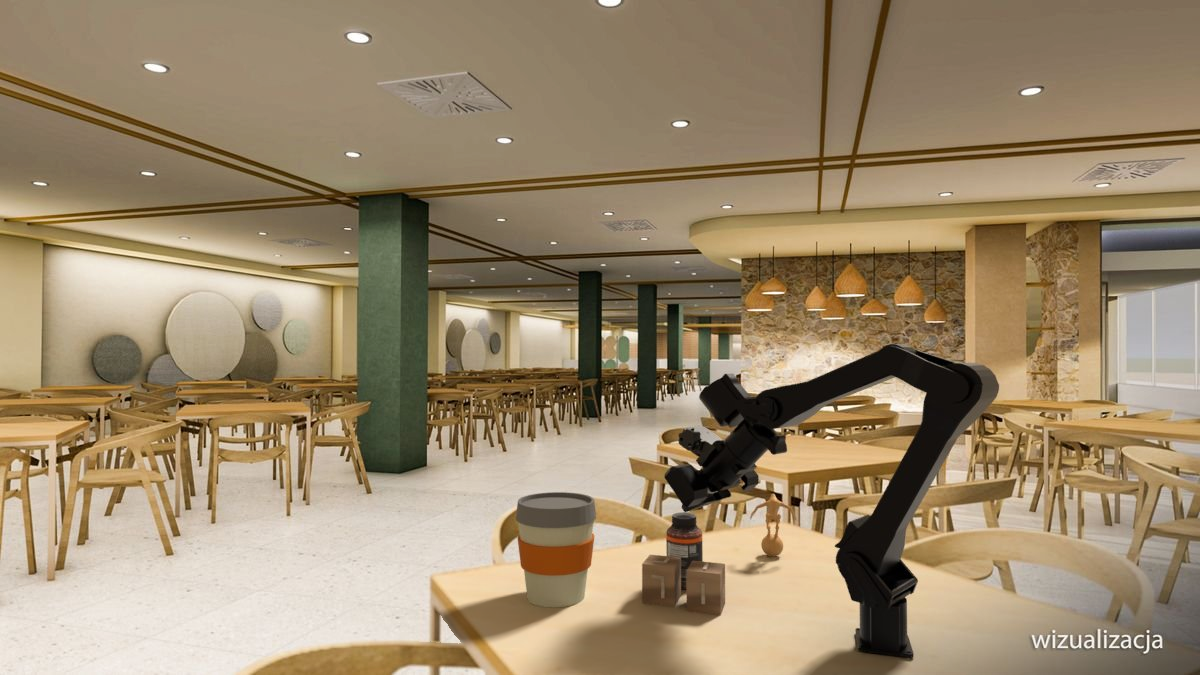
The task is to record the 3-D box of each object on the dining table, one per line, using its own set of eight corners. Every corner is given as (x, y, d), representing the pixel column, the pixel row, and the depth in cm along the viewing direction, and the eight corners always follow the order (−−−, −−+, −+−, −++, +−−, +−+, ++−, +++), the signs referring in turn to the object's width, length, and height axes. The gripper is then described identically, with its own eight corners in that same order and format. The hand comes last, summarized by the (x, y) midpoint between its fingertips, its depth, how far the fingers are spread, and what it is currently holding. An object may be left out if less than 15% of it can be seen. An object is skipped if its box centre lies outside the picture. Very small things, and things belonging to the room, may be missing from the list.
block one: (720, 616, 96) (720, 573, 97) (686, 612, 98) (686, 569, 98) (725, 603, 101) (725, 562, 102) (692, 599, 103) (692, 559, 103)
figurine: (793, 553, 126) (793, 490, 127) (798, 563, 120) (798, 496, 121) (748, 552, 128) (748, 489, 128) (751, 561, 122) (751, 495, 122)
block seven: (674, 608, 100) (674, 566, 100) (641, 604, 101) (641, 563, 101) (681, 596, 105) (680, 556, 105) (650, 592, 106) (650, 553, 106)
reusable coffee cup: (606, 607, 100) (606, 506, 100) (522, 616, 96) (523, 511, 97) (584, 579, 112) (584, 489, 112) (509, 587, 108) (510, 494, 109)
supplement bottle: (679, 575, 114) (679, 508, 114) (709, 582, 110) (709, 514, 111) (659, 584, 110) (659, 515, 110) (690, 593, 106) (690, 521, 106)
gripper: (743, 407, 114) (691, 464, 121) (674, 414, 100) (620, 477, 108) (784, 458, 108) (727, 515, 115) (717, 473, 95) (657, 536, 102)
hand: (684, 509), depth 110 cm, fingers closed
